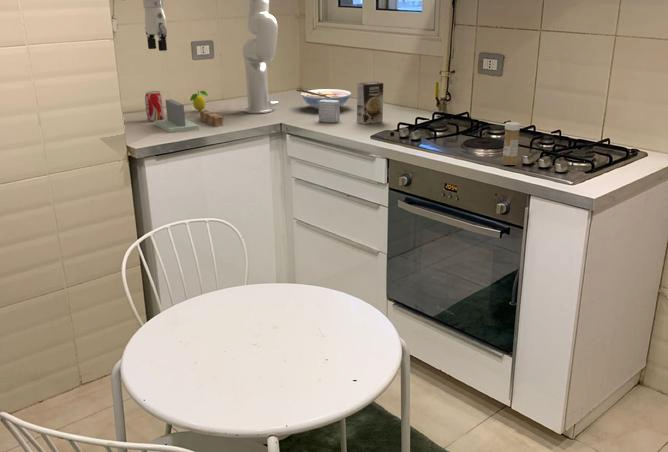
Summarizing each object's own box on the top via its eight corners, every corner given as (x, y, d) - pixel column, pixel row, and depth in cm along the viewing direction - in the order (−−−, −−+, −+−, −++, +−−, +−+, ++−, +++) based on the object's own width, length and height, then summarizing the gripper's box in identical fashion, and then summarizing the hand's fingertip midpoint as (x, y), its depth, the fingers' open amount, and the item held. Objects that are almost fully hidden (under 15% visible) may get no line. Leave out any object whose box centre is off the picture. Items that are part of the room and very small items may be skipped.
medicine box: (339, 121, 273) (339, 100, 270) (336, 123, 269) (336, 102, 266) (322, 119, 276) (321, 99, 273) (318, 122, 272) (318, 101, 269)
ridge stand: (182, 121, 276) (180, 97, 272) (199, 129, 261) (197, 104, 257) (155, 124, 270) (152, 100, 266) (170, 132, 255) (167, 107, 251)
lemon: (209, 110, 298) (207, 88, 295) (205, 112, 293) (203, 90, 289) (195, 110, 299) (193, 88, 295) (191, 112, 294) (189, 90, 290)
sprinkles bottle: (499, 163, 208) (502, 121, 204) (512, 162, 209) (516, 121, 204) (505, 167, 204) (509, 124, 199) (519, 166, 205) (523, 124, 200)
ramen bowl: (362, 110, 294) (362, 92, 291) (320, 116, 282) (319, 97, 279) (331, 102, 314) (331, 85, 311) (290, 108, 302) (290, 90, 299)
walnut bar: (200, 120, 279) (199, 110, 278) (207, 119, 281) (206, 110, 279) (216, 127, 265) (215, 117, 264) (223, 126, 266) (222, 116, 265)
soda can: (159, 122, 274) (156, 93, 270) (144, 121, 276) (141, 93, 271) (167, 118, 281) (164, 90, 277) (152, 118, 282) (148, 90, 278)
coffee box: (364, 124, 266) (364, 84, 260) (356, 122, 271) (356, 82, 265) (383, 122, 269) (383, 83, 264) (375, 119, 275) (375, 81, 269)
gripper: (171, 5, 252) (176, 50, 258) (152, 4, 264) (156, 47, 271) (153, 5, 248) (158, 52, 254) (134, 4, 260) (139, 48, 266)
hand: (157, 49), depth 262 cm, fingers open, 9 cm apart
